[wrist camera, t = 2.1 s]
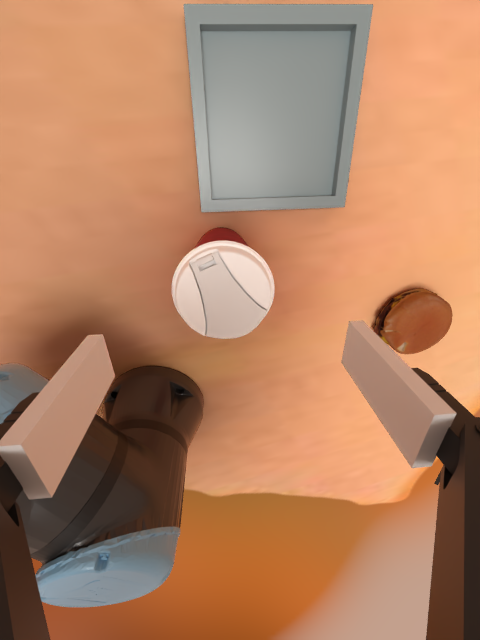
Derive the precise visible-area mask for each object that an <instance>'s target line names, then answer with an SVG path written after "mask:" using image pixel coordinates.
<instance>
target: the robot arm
mask: <svg viewBox="0 0 480 640" xmlns="http://www.w3.org/2000/svg"><path fill="white" fill-rule="evenodd" d="M341 363H342V364H343V366H344V367H345V369H346V370H347V372H348V373H349V375H350V376H351V378H352V379H353V381H354V382H355V384H356V385H357V387H358V388H359V390H360V391H361V393H362V394H363V396H364V397H365V399H366V400H367V402H368V403H369V405H370V406H371V408H372V409H373V411H374V412H375V414H376V415H377V417H378V418H379V420H380V421H381V423H382V424H383V426H384V427H385V429H386V430H387V432H388V433H389V435H390V436H391V438H392V439H393V441H394V442H395V444H396V445H397V447H398V448H399V450H400V451H401V453H402V454H403V456H404V457H405V459H406V460H407V462H408V463H409V464H410V466H411V467H412V468H417V467H429V466H432V464H433V462H434V460H435V458H436V456H437V457H438V458H439V459H440V460H441V462H442V463H443V464H444V465H443V467H442V469H441V471H440V473H439V475H438V477H437V479H436V481H435V484H437V485H438V484H439V482H440V486H439V498H438V509H437V520H436V533H435V544H434V555H433V566H432V579H431V589H430V601H429V612H428V624H427V636H426V640H480V418H479V417H474V416H473V415H472V414H471V413H470V412H469V411H468V410H467V409H466V408H465V407H464V406H462V405H461V404H460V403H459V402H458V401H457V400H456V399H455V398H454V397H453V396H452V395H451V394H450V393H449V392H446V390H445V389H444V388H443V387H442V386H441V385H439V383H438V382H437V381H436V380H435V379H433V378H432V377H431V376H430V375H429V374H427V373H426V372H424V371H422V370H420V369H419V368H410V367H409V366H408V365H407V364H406V363H405V362H404V361H403V360H402V359H401V358H400V357H399V356H398V355H397V354H396V353H395V352H394V351H393V350H392V349H391V348H390V347H389V346H388V345H387V344H386V343H385V342H384V341H383V340H382V339H381V338H380V337H379V336H378V335H377V334H376V333H375V332H374V331H373V330H372V329H371V328H370V327H369V326H368V325H367V324H366V323H365V322H364V321H349V324H348V330H347V335H346V340H345V346H344V351H343V356H342V362H341ZM114 378H115V374H114V370H113V367H112V363H111V360H110V357H109V353H108V350H107V346H106V343H105V340H104V336H103V334H99V335H87V337H86V338H85V339H84V340H83V341H82V343H81V344H80V345H79V346H78V347H77V349H76V350H75V351H74V352H73V353H72V355H71V356H70V357H69V358H68V359H67V361H66V362H65V363H64V364H63V365H62V367H61V368H60V369H59V370H58V371H57V373H56V374H55V375H54V376H53V377H52V379H51V380H50V381H49V380H47V379H46V378H44V377H43V376H41V375H40V374H38V373H37V372H35V371H33V370H32V369H30V368H29V367H27V366H25V365H22V364H18V363H7V364H2V365H0V640H50V637H49V632H48V628H47V623H46V619H45V615H44V610H43V606H42V602H45V603H47V604H51V605H56V606H63V607H93V606H103V605H110V604H116V603H121V602H124V601H128V600H132V599H135V598H138V597H141V596H143V595H145V594H148V593H150V592H151V591H153V590H154V589H156V588H158V587H159V586H160V585H161V584H162V583H163V582H164V581H165V580H166V579H167V577H168V576H169V574H170V572H171V570H172V567H173V564H174V558H175V552H176V546H177V540H178V537H179V535H180V524H181V512H182V502H183V492H184V482H185V471H186V460H187V451H188V447H189V445H190V443H191V441H192V439H193V437H194V435H195V433H196V431H197V429H198V427H199V425H200V423H201V420H202V416H203V397H202V394H201V391H200V389H199V388H198V386H197V385H196V384H195V383H194V382H193V381H192V380H191V379H190V378H189V377H187V376H186V375H184V374H182V373H180V372H178V371H176V370H173V369H170V368H165V367H158V366H146V367H140V368H136V369H133V370H130V371H128V372H126V373H124V374H122V375H121V376H120V377H118V378H117V379H116V380H115V381H114V383H113V384H112V386H111V388H110V390H109V391H108V389H109V387H110V385H111V383H112V381H113V380H114ZM107 391H108V393H107ZM106 393H107V395H106ZM105 395H106V398H105V401H104V405H103V419H102V418H101V417H99V416H98V415H97V414H96V412H97V410H98V408H99V406H100V404H101V403H102V401H103V399H104V397H105ZM31 558H33V559H36V560H38V561H40V562H41V563H42V566H41V568H40V569H39V570H38V571H37V573H36V575H35V573H34V568H33V563H32V559H31ZM41 601H42V602H41Z"/></svg>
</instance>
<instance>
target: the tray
mask: <svg viewBox="0 0 480 640" xmlns="http://www.w3.org/2000/svg"><path fill="white" fill-rule="evenodd" d="M372 9H373V4H184V14H185V26H186V37H187V49H188V61H189V72H190V84H191V96H192V107H193V119H194V131H195V142H196V154H197V166H198V177H199V189H200V201H201V212H224V211H252V210H280V209H308V208H336V207H345V200H346V193H347V186H348V179H349V172H350V165H351V158H352V151H353V144H354V137H355V130H356V122H357V115H358V108H359V101H360V94H361V87H362V80H363V73H364V66H365V59H366V52H367V44H368V37H369V30H370V23H371V16H372Z"/></svg>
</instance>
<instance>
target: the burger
mask: <svg viewBox="0 0 480 640" xmlns="http://www.w3.org/2000/svg"><path fill="white" fill-rule="evenodd" d="M451 322H452V309H451V306H450V305H449V303H448V302H446V301H445V300H444V299H442V298H441V297H439V296H437V294H435V293H433V292H431V291H428V290H426V289H423V288H418V289H414V290H410V291H407V292H404V293H402V294H400V295H398V296H396V297H394V298H392V299H391V300H390V301H389V302H388V304H387V305H386V306H385V307H384V308H383V310H382V311H381V313H380V315H379V316H378V318H377V320H376V326H375V327H374V332H375V333H376V334H377V335H378V336H379V337H380V338H381V339H382V340H383V341H384V342H385V343H386V344H389V345H390V346H391V347H392V348H393V349H394V350H396V351H397V352H399V353H401V354H414V353H418V352H421V351H423V350H426V349H428V348H430V347H431V346H433V345H435V344H436V343H438V342H439V341H440V340H441V339H442V338H443V337H444V336H445V335H446V333H447V332H448V330H449V328H450V326H451Z"/></svg>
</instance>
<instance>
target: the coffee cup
mask: <svg viewBox="0 0 480 640" xmlns="http://www.w3.org/2000/svg"><path fill="white" fill-rule="evenodd" d="M274 288H275V287H274V279H273V276H272V272H271V270H270V268H269V266H268V265H267V263H266V262H265V260H264V259H263V258H262V257H261V256H260V255H259V254H258V253H257V252H256V251H254V250H253V249H251V248H250V247H249V246H248V245H247V244H246V242H245V241H244V240H243V239H242V238H241V237H240V235H238V234H237V233H236V232H234V231H233V230H231V229H228V228H215V229H212V230H210V231H208V232H207V233H206V234H205V235H204V236H203V237H202V238H201V239H200V241H199V242H198V244H197V245H196V247H195V248H194V249H193V250H192V251H190V252H189V253H188V254H187V255H186V256H185V257H184V258H183V259H182V260H181V262H180V263H179V265H178V266H177V268H176V271H175V273H174V276H173V280H172V298H173V301H174V305H175V307H176V309H177V311H178V313H179V314H180V316H181V317H182V318H183V319H184V321H185V322H186V323H187V324H188V325H189V326H190V327H191V328H192V329H193V330H195V331H196V332H198V333H200V334H201V335H204V336H205V335H206V336H207V337H212V338H219V339H232V338H238V337H241V336H244V335H246V334H248V333H250V332H251V331H252V330H254V329H255V328H256V327H257V326H258V325H259V324H260V322H261V321H262V320H263V318H264V317H265V316H266V315H267V313H268V311H269V310H270V307H271V305H272V302H273V298H274Z"/></svg>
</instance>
